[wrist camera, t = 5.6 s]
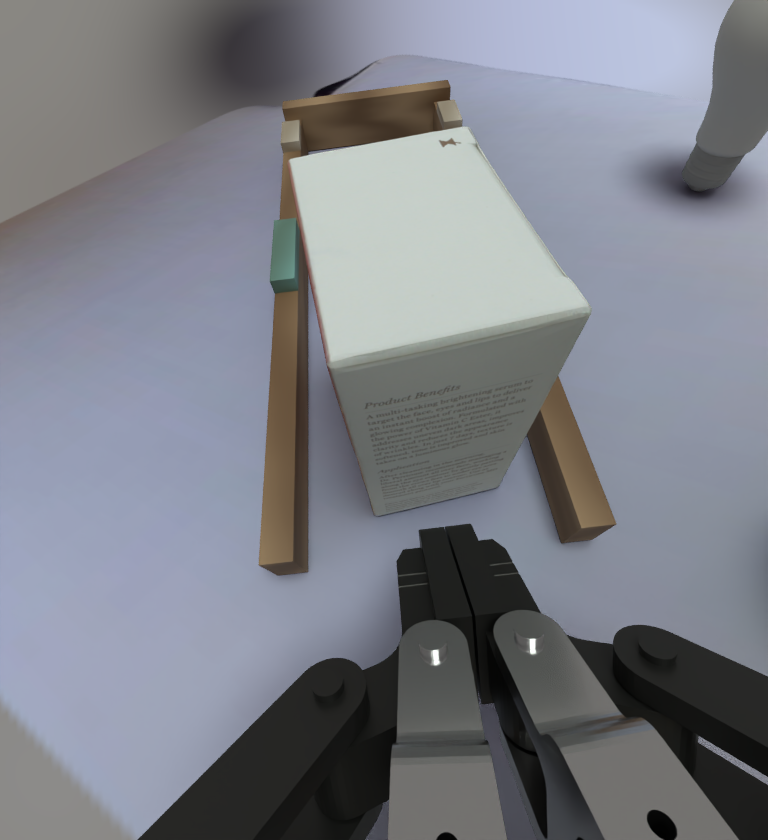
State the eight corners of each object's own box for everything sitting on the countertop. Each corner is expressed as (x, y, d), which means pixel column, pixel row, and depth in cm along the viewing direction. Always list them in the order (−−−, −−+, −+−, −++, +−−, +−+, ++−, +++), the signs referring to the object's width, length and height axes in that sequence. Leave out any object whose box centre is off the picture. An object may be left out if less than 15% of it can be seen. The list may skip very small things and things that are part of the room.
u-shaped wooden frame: (445, 125, 32) (447, 79, 30) (592, 539, 16) (627, 517, 13) (293, 145, 32) (282, 101, 30) (277, 575, 16) (249, 560, 13)
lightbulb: (697, 229, 24) (880, -46, 15) (624, 180, 27) (737, -75, 17) (773, 197, 25) (991, -81, 15) (695, 153, 28) (838, -103, 18)
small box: (341, 372, 21) (282, 152, 12) (446, 349, 21) (469, 116, 12) (372, 522, 17) (319, 366, 7) (502, 491, 17) (601, 304, 8)
